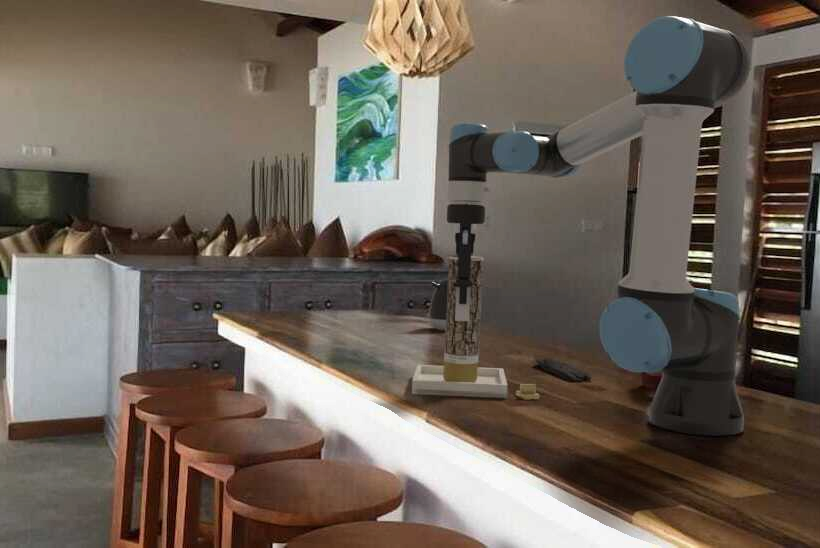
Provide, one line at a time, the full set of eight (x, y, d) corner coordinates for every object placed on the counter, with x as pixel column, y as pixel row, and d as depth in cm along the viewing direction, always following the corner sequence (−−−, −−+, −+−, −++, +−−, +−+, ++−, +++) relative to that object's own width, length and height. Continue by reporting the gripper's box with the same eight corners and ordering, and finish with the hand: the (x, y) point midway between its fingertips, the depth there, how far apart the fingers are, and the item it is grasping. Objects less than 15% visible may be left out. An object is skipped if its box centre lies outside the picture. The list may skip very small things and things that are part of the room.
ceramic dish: (506, 398, 162) (507, 385, 162) (411, 393, 163) (412, 380, 163) (502, 380, 180) (503, 368, 179) (417, 376, 181) (417, 364, 181)
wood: (603, 384, 182) (604, 370, 182) (571, 384, 180) (572, 370, 179) (557, 366, 203) (557, 353, 203) (528, 366, 201) (529, 353, 201)
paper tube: (474, 386, 167) (481, 258, 165) (440, 383, 168) (446, 256, 166) (478, 379, 174) (485, 256, 172) (445, 376, 175) (452, 254, 173)
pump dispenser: (421, 327, 261) (423, 277, 260) (452, 326, 265) (453, 277, 264) (436, 332, 251) (438, 280, 250) (468, 331, 256) (470, 280, 255)
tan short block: (539, 400, 162) (539, 386, 162) (524, 401, 161) (525, 386, 161) (530, 396, 166) (530, 382, 166) (515, 396, 165) (516, 382, 165)
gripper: (486, 203, 158) (482, 325, 159) (484, 205, 179) (480, 312, 181) (446, 202, 158) (441, 323, 160) (448, 204, 180) (444, 311, 181)
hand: (462, 317), depth 170 cm, fingers open, 8 cm apart
